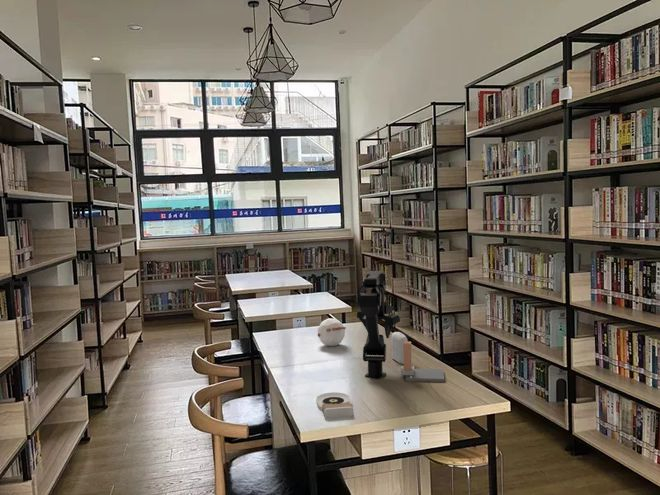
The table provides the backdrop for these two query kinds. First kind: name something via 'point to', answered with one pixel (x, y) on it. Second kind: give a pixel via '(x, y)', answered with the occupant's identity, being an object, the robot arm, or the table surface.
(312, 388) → the table surface
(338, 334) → the white piece
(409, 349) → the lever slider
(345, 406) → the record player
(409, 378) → the track board
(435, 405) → the table surface
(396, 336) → the photo printer
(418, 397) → the table surface
